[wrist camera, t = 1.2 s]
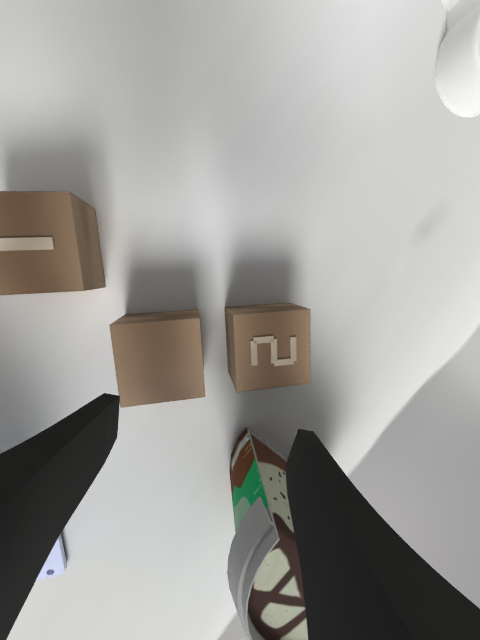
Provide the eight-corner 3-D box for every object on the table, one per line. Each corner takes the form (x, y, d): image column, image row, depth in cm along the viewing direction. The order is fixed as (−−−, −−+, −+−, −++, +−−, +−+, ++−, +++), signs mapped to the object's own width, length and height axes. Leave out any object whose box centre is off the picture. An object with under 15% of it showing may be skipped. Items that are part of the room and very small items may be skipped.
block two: (227, 370, 21) (237, 393, 17) (224, 307, 20) (233, 315, 16) (288, 363, 22) (310, 383, 18) (287, 302, 21) (311, 309, 17)
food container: (181, 473, 22) (176, 635, 12) (233, 416, 22) (270, 533, 12) (284, 542, 25) (346, 715, 15) (330, 492, 25) (421, 634, 15)
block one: (24, 291, 18) (-24, 296, 14) (9, 210, 17) (-48, 190, 13) (106, 287, 18) (83, 290, 14) (95, 209, 18) (68, 191, 14)
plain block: (133, 381, 20) (120, 407, 16) (125, 314, 19) (109, 325, 15) (202, 373, 21) (205, 396, 17) (197, 309, 20) (199, 318, 16)
